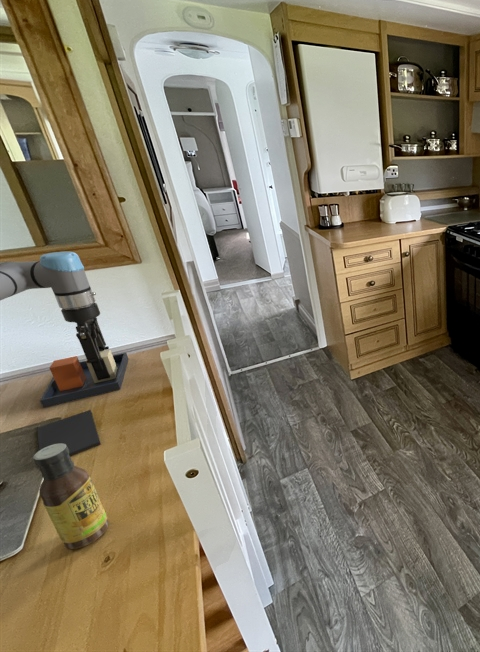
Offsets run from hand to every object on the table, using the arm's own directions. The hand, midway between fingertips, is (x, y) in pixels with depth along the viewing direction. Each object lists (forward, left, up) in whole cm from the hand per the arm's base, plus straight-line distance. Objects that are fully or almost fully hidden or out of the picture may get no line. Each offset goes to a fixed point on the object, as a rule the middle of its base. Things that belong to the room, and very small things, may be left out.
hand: (105, 373), depth 117 cm
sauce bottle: (+33, -58, -2) cm, 66 cm away
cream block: (0, 0, -1) cm, 1 cm away
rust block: (-7, -3, -1) cm, 8 cm away
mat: (+9, -28, -2) cm, 29 cm away
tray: (-3, -2, -2) cm, 4 cm away
